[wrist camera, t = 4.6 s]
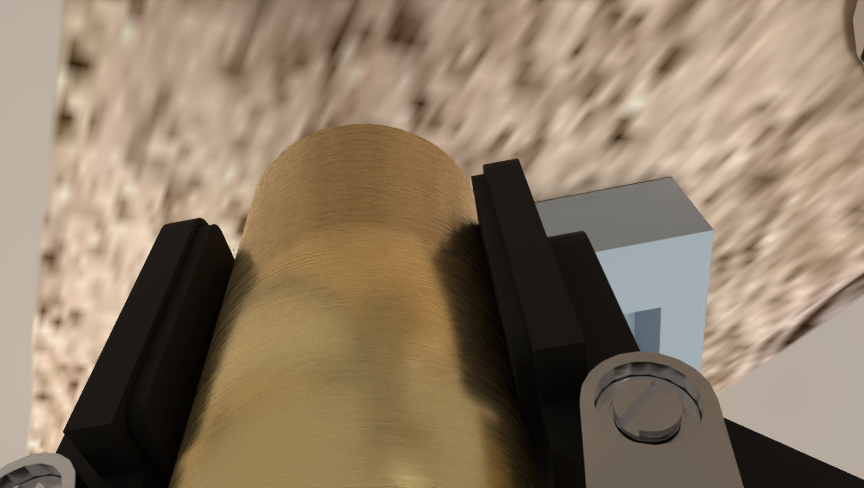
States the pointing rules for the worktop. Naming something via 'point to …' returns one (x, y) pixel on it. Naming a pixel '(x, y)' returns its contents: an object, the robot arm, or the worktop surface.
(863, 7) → the supplement can
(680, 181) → the worktop surface
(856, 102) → the worktop surface
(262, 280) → the yellow cylinder
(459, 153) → the worktop surface
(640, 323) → the block
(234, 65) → the worktop surface
